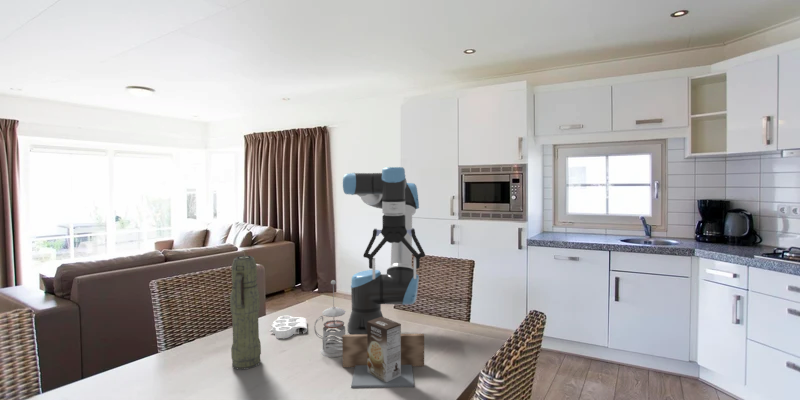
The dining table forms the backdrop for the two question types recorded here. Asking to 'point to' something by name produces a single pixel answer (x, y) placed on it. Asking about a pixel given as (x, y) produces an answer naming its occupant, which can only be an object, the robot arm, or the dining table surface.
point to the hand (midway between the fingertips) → (394, 278)
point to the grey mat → (368, 380)
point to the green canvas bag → (245, 313)
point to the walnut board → (357, 349)
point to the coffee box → (384, 348)
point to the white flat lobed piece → (288, 326)
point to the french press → (332, 346)
